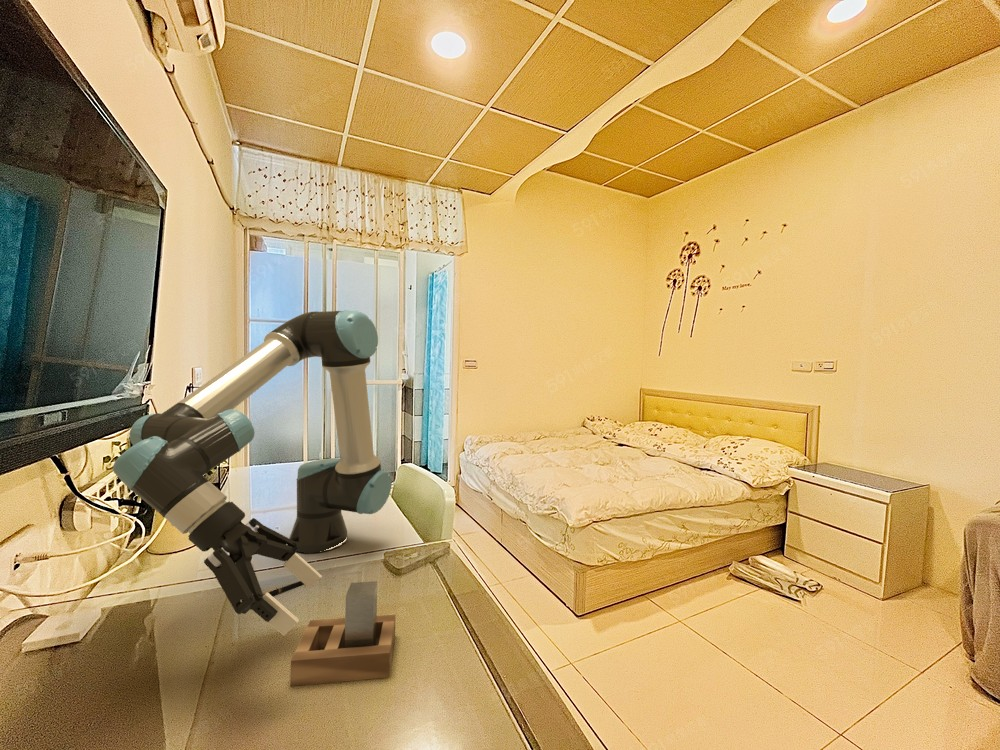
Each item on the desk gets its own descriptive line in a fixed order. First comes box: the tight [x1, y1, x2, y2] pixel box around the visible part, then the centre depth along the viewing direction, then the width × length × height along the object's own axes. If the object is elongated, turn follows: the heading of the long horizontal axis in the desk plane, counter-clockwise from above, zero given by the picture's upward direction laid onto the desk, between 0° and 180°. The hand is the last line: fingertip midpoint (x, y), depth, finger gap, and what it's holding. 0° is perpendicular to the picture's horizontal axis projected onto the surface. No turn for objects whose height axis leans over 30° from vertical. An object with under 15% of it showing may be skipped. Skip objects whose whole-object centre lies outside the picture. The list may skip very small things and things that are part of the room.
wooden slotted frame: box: [289, 614, 396, 687], centre depth 71 cm, size 10×15×4 cm
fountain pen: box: [262, 580, 305, 597], centre depth 93 cm, size 14×1×2 cm, turn 139°
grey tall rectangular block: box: [344, 580, 378, 648], centre depth 72 cm, size 4×4×12 cm
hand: (305, 603), depth 70 cm, fingers open, 13 cm apart
